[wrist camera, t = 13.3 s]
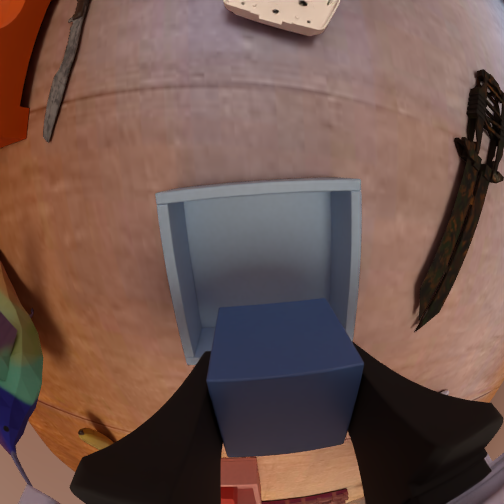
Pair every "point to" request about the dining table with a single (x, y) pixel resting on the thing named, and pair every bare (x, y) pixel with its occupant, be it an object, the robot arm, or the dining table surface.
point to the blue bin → (259, 249)
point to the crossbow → (357, 501)
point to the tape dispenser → (16, 62)
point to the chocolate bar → (317, 499)
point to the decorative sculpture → (17, 368)
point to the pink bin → (242, 478)
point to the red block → (229, 495)
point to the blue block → (282, 378)
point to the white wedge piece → (287, 13)
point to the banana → (94, 438)
